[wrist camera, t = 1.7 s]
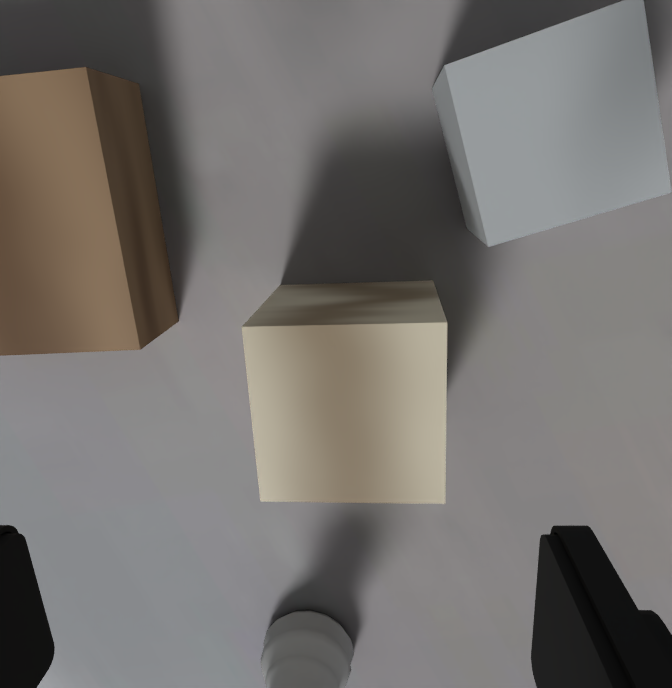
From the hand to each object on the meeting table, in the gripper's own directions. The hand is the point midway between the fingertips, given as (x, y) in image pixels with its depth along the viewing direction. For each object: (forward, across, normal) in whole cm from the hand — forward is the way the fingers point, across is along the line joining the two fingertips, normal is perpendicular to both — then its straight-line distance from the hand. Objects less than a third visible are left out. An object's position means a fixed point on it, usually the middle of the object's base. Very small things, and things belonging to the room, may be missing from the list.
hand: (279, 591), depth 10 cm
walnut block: (+14, +11, -6) cm, 19 cm away
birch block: (+13, -1, 0) cm, 13 cm away
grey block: (+13, -7, -8) cm, 17 cm away
